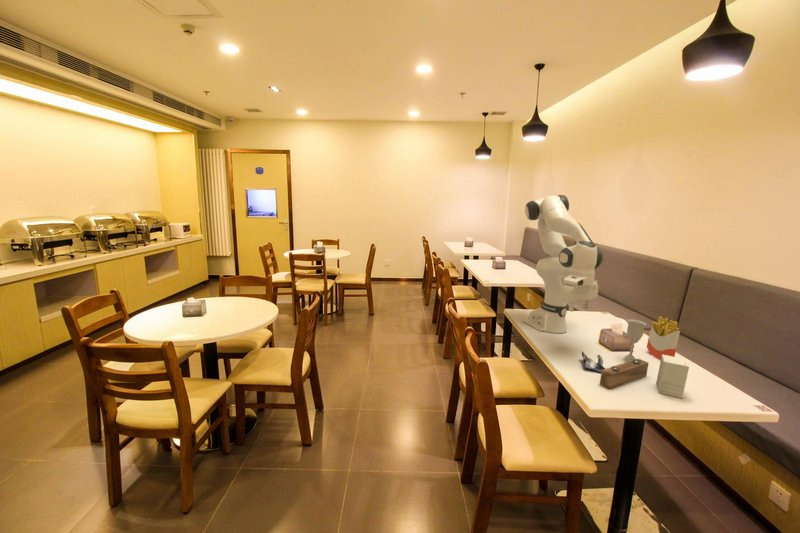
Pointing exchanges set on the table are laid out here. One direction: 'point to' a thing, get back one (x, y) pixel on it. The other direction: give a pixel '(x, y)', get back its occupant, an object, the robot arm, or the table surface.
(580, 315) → the table surface
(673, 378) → the supplement box
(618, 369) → the bar
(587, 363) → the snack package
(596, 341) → the table surface
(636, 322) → the chalice
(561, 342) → the table surface
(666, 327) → the french fries container
